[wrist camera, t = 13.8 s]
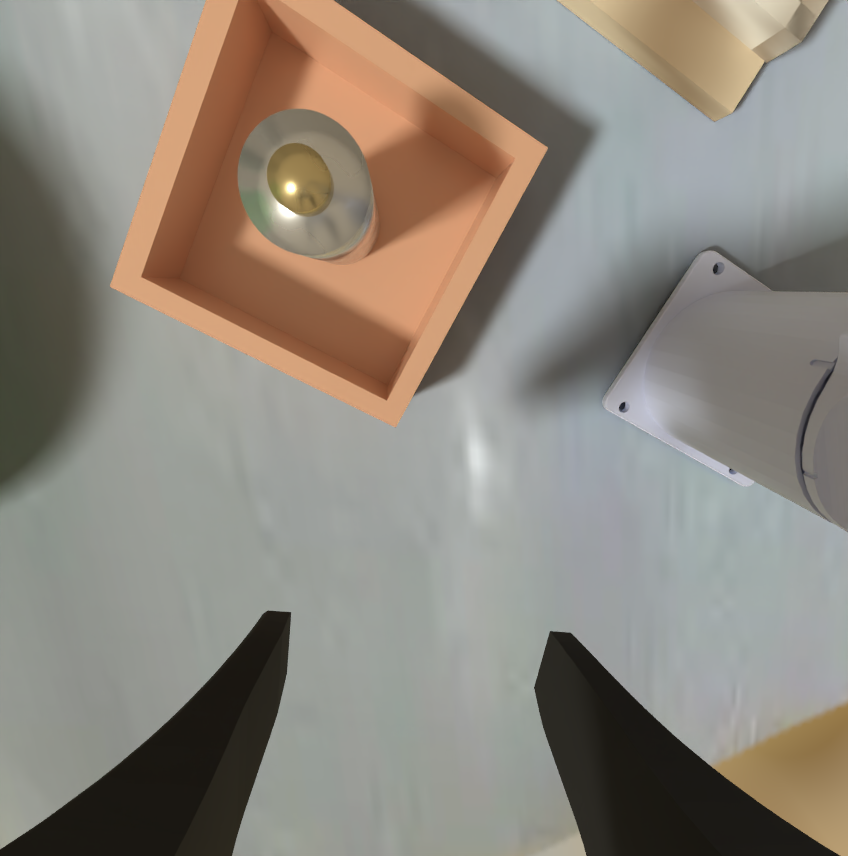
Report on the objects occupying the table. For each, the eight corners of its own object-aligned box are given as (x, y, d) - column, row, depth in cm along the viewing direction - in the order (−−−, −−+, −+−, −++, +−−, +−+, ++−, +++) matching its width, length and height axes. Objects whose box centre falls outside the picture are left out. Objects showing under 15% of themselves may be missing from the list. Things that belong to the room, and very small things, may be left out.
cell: (395, 212, 18) (396, 160, 10) (352, 281, 18) (322, 281, 11) (325, 158, 17) (270, 59, 9) (283, 232, 18) (200, 196, 10)
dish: (519, 173, 18) (548, 148, 15) (395, 404, 21) (395, 427, 17) (263, 3, 16) (230, -71, 13) (160, 286, 19) (109, 286, 15)
